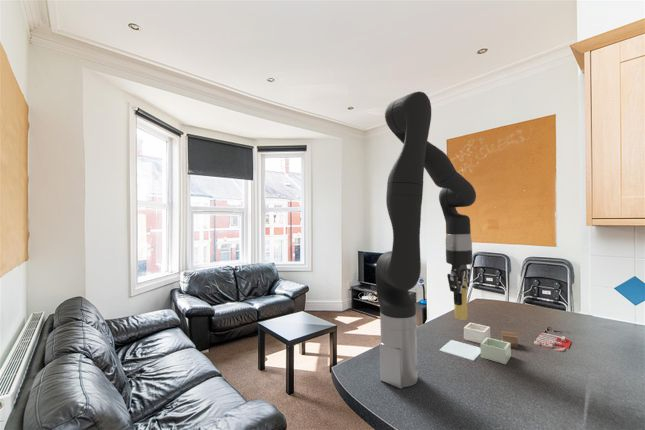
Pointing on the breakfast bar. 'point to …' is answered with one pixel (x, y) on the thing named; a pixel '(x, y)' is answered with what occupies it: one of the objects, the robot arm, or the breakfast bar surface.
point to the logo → (552, 341)
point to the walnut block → (510, 338)
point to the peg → (462, 307)
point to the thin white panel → (461, 350)
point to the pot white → (476, 332)
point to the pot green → (495, 350)
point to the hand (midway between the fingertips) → (460, 302)
